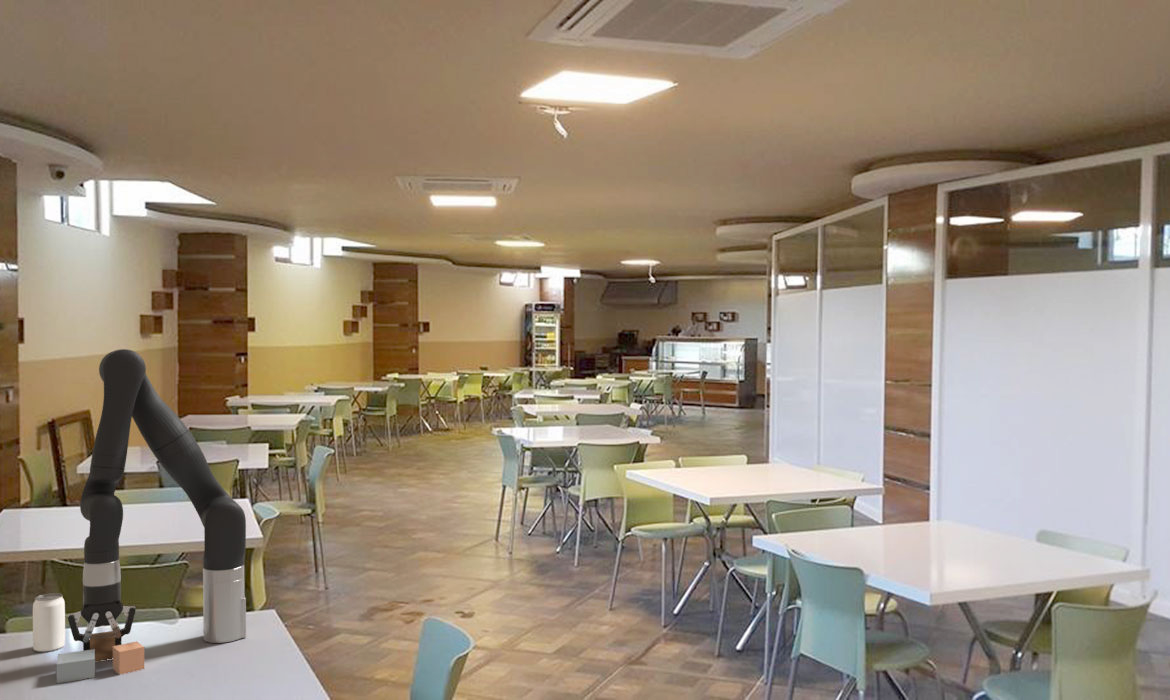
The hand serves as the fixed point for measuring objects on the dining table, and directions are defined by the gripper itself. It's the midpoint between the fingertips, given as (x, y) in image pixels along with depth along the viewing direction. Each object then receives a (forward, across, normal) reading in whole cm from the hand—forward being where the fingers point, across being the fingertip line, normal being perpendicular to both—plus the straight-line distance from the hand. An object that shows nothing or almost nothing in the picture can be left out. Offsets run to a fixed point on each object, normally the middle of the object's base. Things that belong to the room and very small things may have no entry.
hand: (102, 655), depth 210 cm
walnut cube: (0, 0, 0) cm, 0 cm away
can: (+1, +11, -13) cm, 17 cm away
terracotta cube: (+1, -5, +11) cm, 12 cm away
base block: (0, +5, +10) cm, 11 cm away
